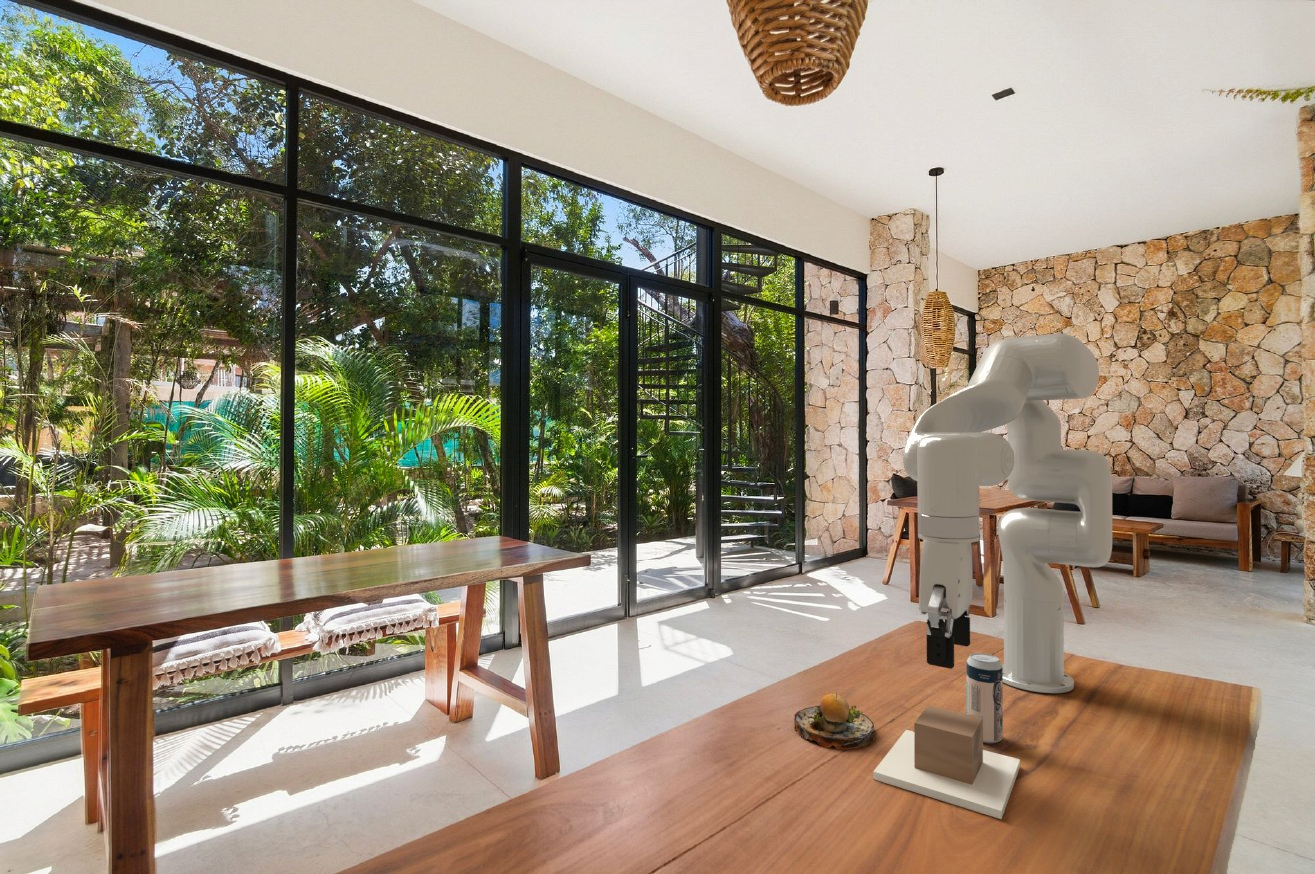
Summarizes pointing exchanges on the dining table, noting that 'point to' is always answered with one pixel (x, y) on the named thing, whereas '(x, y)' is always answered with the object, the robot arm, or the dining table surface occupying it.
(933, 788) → the stone tile
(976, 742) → the walnut block
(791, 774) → the dining table surface
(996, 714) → the beer can
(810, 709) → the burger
